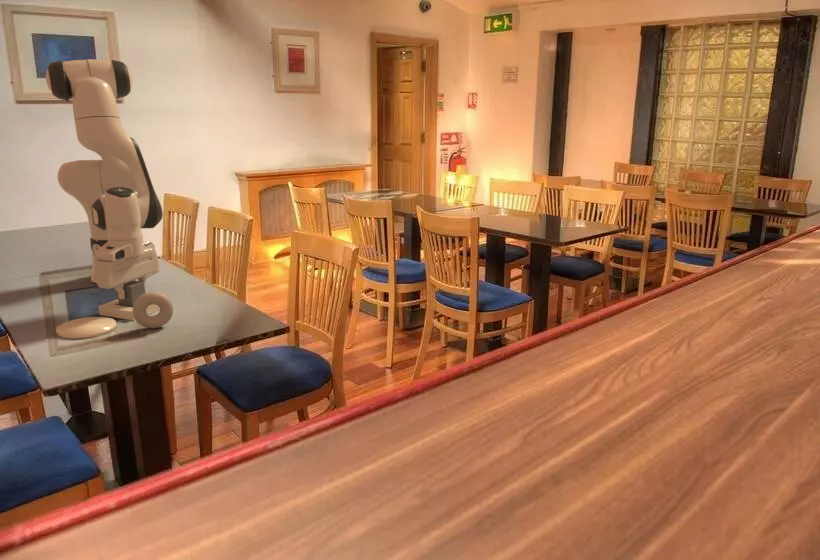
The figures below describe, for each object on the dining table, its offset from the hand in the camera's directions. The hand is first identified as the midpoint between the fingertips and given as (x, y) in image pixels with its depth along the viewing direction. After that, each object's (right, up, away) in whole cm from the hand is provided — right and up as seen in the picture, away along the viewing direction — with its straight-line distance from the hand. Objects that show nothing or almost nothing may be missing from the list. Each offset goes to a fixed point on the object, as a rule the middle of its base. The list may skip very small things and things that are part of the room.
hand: (131, 295), depth 179 cm
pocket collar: (0, -5, +1) cm, 5 cm away
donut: (+11, -9, -12) cm, 18 cm away
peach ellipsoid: (-6, -9, -14) cm, 17 cm away
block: (0, -4, +1) cm, 4 cm away
